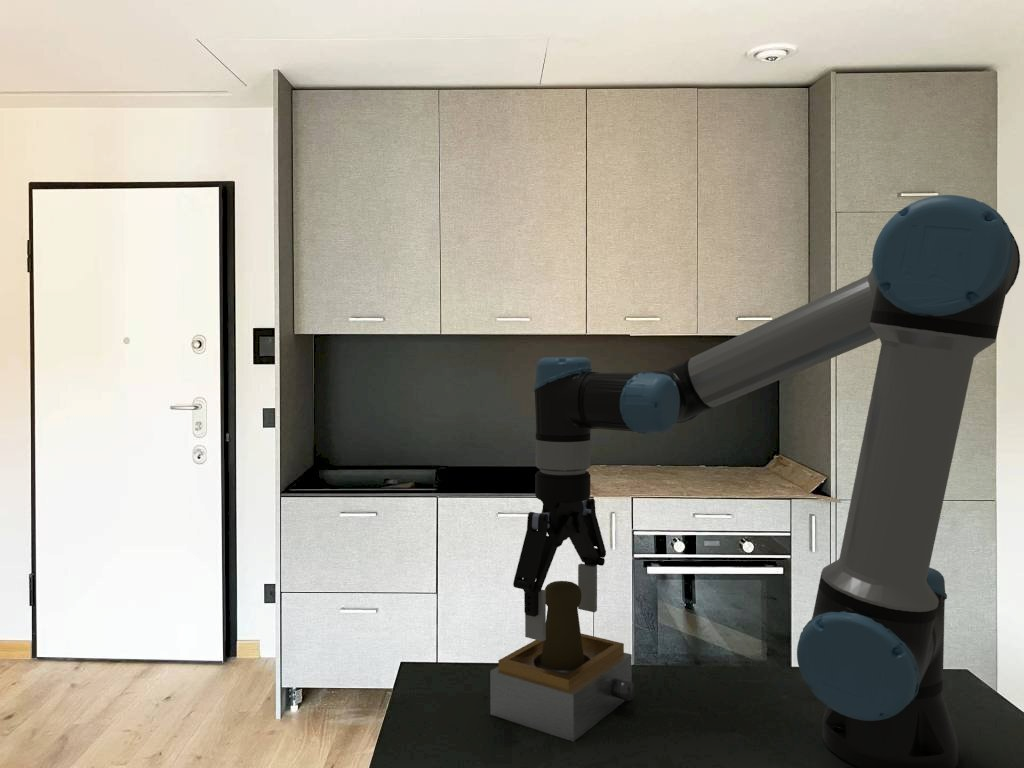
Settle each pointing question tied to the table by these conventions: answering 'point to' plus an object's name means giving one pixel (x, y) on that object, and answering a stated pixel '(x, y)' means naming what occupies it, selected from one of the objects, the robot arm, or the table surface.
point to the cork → (562, 627)
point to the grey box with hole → (562, 688)
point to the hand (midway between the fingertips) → (562, 623)
